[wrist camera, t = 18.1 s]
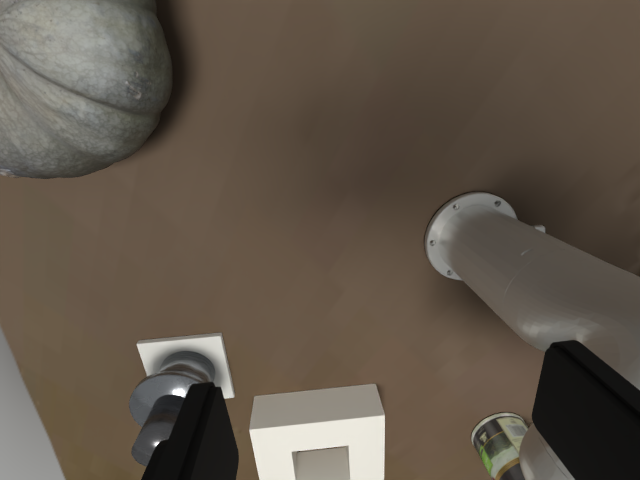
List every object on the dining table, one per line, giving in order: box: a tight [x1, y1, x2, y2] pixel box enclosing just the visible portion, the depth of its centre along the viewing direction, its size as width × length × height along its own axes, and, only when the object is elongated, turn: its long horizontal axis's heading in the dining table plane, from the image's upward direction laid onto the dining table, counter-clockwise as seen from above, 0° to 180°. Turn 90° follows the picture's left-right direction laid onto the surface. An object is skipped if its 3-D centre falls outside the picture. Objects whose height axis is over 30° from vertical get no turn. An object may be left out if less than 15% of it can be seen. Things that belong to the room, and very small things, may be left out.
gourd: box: [0, 0, 172, 179], centre depth 26 cm, size 25×25×17 cm
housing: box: [249, 384, 385, 480], centre depth 54 cm, size 20×20×6 cm
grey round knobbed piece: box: [129, 351, 215, 466], centre depth 43 cm, size 11×11×12 cm
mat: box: [137, 333, 235, 399], centre depth 49 cm, size 12×12×1 cm
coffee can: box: [471, 413, 529, 480], centre depth 53 cm, size 10×10×14 cm
